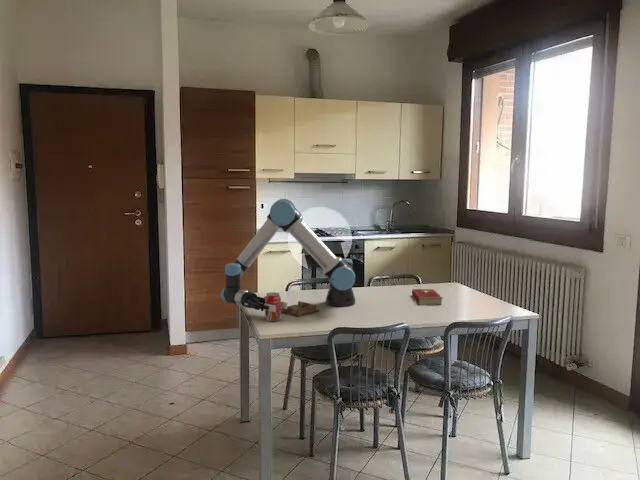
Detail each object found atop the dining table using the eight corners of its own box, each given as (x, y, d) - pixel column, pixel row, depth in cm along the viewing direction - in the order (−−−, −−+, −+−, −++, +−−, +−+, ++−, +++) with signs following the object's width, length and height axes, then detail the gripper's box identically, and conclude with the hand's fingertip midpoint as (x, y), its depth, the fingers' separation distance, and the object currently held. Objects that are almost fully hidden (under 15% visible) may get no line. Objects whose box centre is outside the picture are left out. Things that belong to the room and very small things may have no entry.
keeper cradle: (274, 311, 253) (274, 304, 252) (294, 306, 263) (294, 299, 263) (299, 317, 242) (299, 310, 242) (319, 311, 253) (319, 304, 253)
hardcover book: (418, 305, 269) (419, 297, 268) (411, 296, 290) (412, 288, 289) (442, 305, 269) (442, 297, 268) (433, 296, 290) (434, 288, 289)
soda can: (265, 317, 241) (265, 292, 240) (280, 317, 242) (280, 292, 241) (265, 322, 234) (264, 295, 233) (280, 321, 235) (280, 295, 234)
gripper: (261, 303, 257) (296, 311, 242) (230, 310, 242) (264, 320, 227) (261, 288, 256) (296, 295, 241) (230, 294, 241) (264, 303, 226)
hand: (280, 307), depth 234 cm, fingers closed on soda can, 7 cm apart
